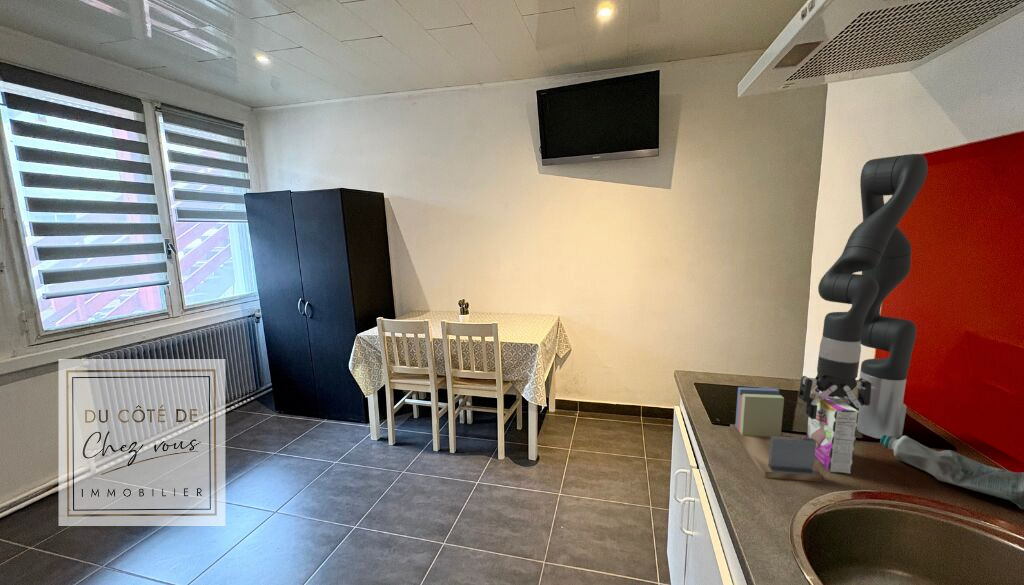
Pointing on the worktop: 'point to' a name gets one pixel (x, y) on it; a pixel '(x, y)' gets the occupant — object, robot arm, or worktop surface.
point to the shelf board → (767, 456)
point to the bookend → (792, 455)
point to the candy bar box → (834, 434)
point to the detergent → (959, 469)
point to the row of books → (759, 412)
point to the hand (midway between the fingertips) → (830, 418)
